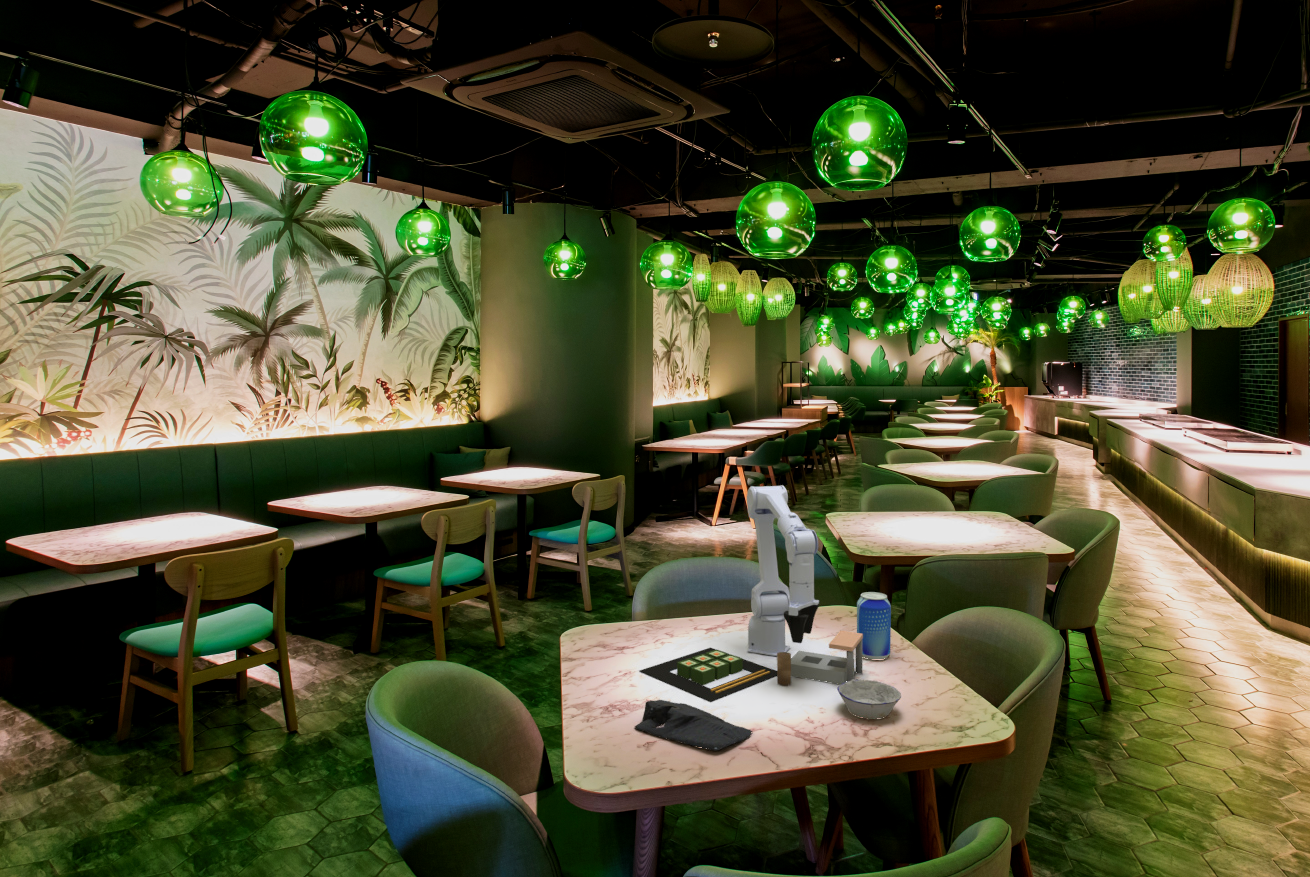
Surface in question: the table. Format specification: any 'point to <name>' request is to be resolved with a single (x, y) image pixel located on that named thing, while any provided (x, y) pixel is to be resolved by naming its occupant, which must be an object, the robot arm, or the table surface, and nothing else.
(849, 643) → the raised peach slab
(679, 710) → the black folded cloth
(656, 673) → the sushi
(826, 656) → the socket plate
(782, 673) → the peg
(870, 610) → the beer can
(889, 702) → the bowl
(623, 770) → the table surface
